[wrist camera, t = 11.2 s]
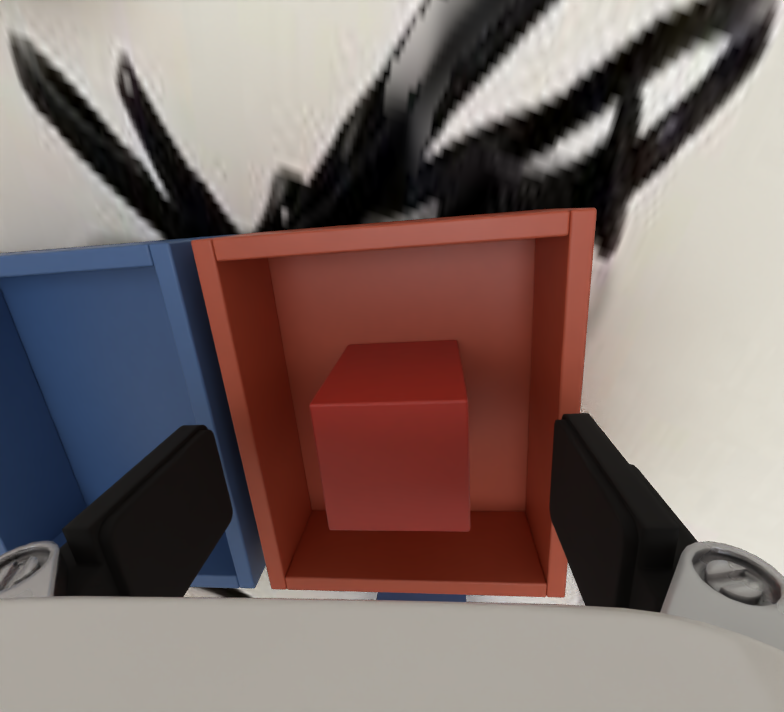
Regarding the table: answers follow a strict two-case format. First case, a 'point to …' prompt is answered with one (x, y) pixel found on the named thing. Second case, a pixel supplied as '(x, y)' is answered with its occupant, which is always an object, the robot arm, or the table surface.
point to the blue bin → (109, 388)
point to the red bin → (407, 324)
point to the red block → (394, 438)
